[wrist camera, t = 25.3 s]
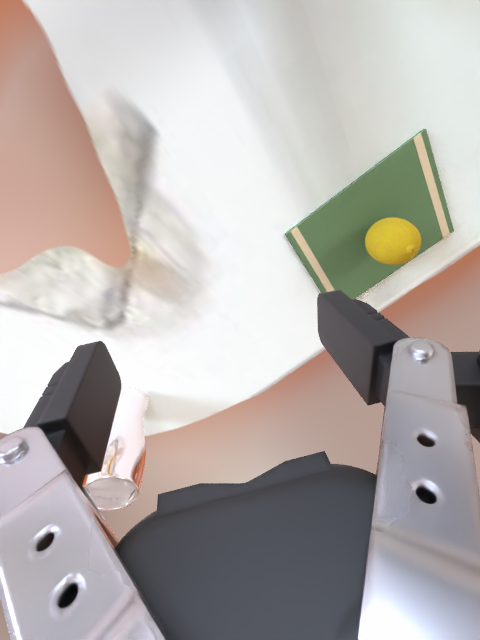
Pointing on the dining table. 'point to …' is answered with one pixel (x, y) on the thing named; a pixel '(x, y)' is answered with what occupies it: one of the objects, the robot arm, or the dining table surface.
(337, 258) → the cloth
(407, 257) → the lemon
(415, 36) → the dining table surface
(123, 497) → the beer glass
